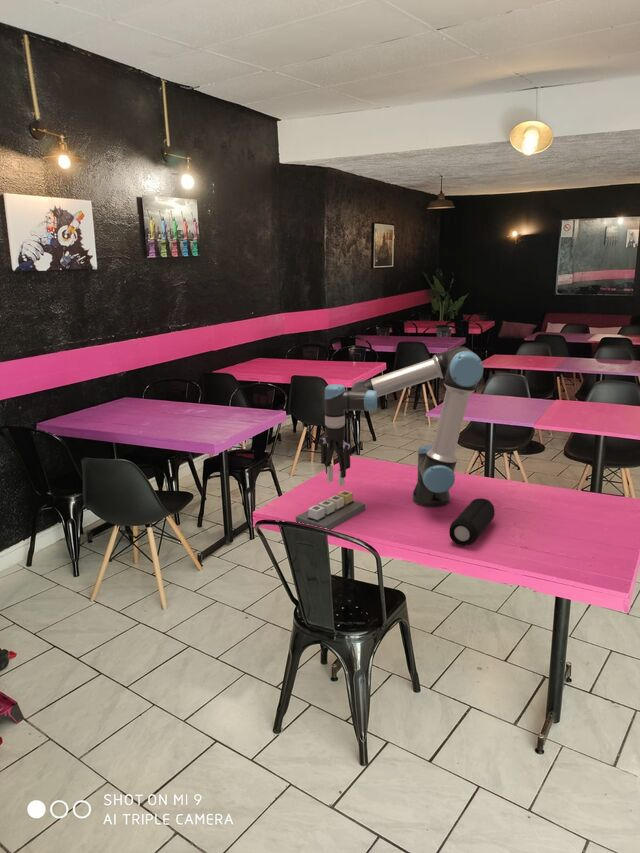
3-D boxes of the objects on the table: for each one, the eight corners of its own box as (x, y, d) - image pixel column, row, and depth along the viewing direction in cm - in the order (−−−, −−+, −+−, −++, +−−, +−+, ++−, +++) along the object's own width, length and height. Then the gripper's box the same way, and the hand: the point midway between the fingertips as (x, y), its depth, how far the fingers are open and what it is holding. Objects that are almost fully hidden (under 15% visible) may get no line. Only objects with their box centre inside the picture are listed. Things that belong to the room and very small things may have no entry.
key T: (343, 505, 245) (343, 497, 244) (337, 509, 242) (336, 501, 241) (335, 503, 248) (334, 494, 247) (328, 506, 244) (328, 498, 243)
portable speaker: (470, 518, 240) (471, 493, 237) (495, 523, 235) (497, 498, 232) (446, 545, 219) (447, 518, 216) (474, 551, 214) (475, 525, 211)
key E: (324, 516, 236) (324, 507, 235) (317, 520, 233) (317, 511, 232) (315, 513, 239) (315, 504, 238) (308, 516, 235) (308, 508, 234)
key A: (334, 510, 240) (334, 502, 239) (327, 514, 237) (327, 506, 236) (325, 507, 243) (325, 499, 242) (318, 511, 240) (318, 503, 239)
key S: (353, 500, 249) (352, 492, 248) (346, 504, 246) (346, 496, 245) (344, 498, 252) (344, 490, 251) (337, 501, 249) (337, 493, 248)
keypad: (365, 509, 249) (365, 503, 248) (324, 532, 229) (324, 526, 229) (337, 501, 257) (337, 495, 256) (295, 522, 238) (295, 516, 237)
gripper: (360, 427, 233) (360, 485, 239) (322, 419, 243) (323, 475, 250) (348, 432, 227) (348, 491, 234) (310, 424, 238) (311, 481, 245)
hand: (335, 483), depth 242 cm, fingers open, 5 cm apart
